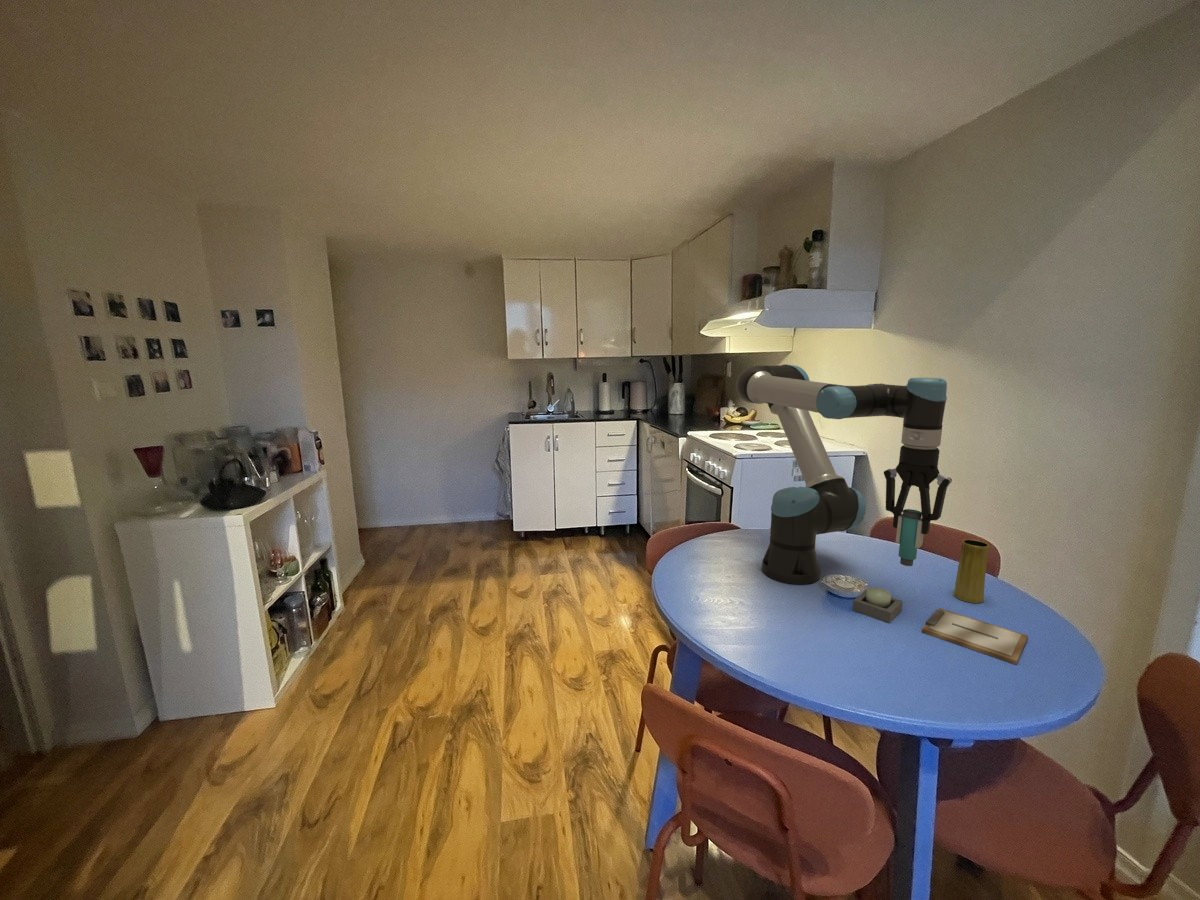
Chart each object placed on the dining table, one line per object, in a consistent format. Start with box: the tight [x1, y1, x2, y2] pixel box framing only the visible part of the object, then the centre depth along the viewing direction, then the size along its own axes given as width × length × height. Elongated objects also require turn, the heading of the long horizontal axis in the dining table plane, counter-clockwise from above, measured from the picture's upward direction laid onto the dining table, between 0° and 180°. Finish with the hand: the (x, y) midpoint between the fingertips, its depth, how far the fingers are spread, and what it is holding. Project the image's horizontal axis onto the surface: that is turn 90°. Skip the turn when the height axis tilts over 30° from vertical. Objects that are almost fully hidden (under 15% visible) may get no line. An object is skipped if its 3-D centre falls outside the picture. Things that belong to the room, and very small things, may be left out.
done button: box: [866, 586, 892, 609], centre depth 116 cm, size 5×5×3 cm
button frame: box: [852, 589, 904, 624], centre depth 117 cm, size 8×8×2 cm
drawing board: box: [921, 607, 1029, 666], centre depth 106 cm, size 16×13×1 cm
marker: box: [898, 508, 922, 567], centre depth 117 cm, size 4×4×13 cm
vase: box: [952, 538, 990, 604], centre depth 121 cm, size 6×6×14 cm
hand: (908, 543), depth 117 cm, fingers closed on marker, 3 cm apart
